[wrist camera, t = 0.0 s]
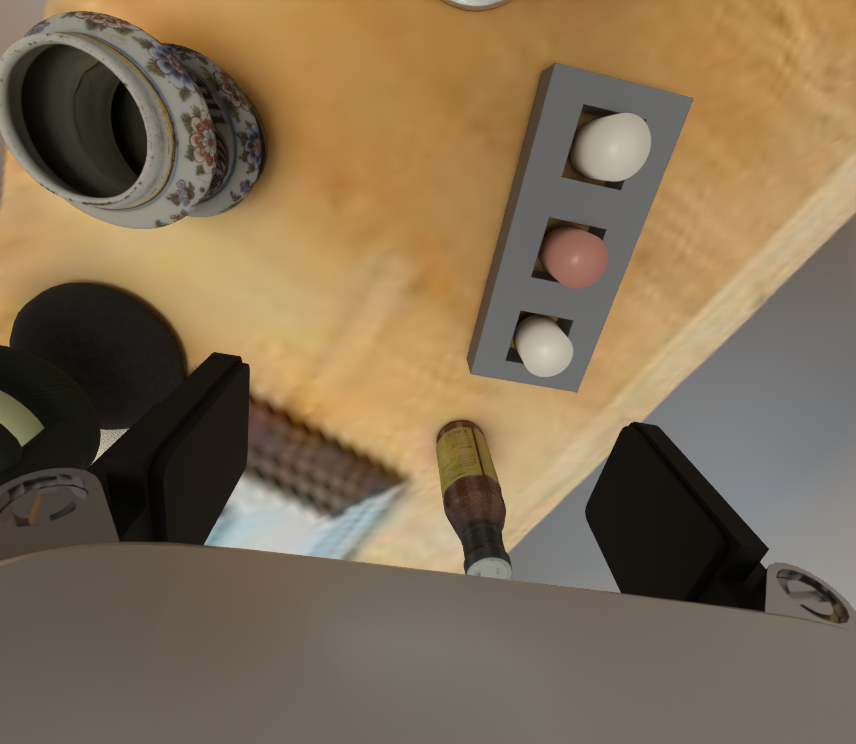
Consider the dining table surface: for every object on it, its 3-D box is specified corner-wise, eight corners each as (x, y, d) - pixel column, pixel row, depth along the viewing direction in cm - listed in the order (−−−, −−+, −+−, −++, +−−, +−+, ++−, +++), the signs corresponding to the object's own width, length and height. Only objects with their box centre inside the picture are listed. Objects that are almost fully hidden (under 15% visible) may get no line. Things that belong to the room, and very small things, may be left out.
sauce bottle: (428, 450, 56) (433, 588, 38) (448, 411, 53) (464, 539, 36) (474, 466, 57) (501, 606, 39) (496, 428, 55) (535, 560, 37)
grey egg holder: (542, 71, 38) (555, 62, 35) (668, 103, 40) (693, 98, 36) (466, 358, 50) (470, 374, 47) (566, 375, 52) (577, 392, 48)
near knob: (581, 111, 38) (602, 106, 33) (633, 124, 38) (661, 120, 34) (562, 172, 40) (580, 174, 35) (612, 183, 40) (636, 187, 36)
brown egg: (548, 220, 41) (563, 227, 37) (596, 230, 42) (616, 239, 38) (532, 270, 43) (545, 283, 39) (578, 280, 44) (596, 293, 40)
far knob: (520, 310, 45) (531, 327, 41) (564, 319, 46) (580, 336, 41) (507, 352, 47) (516, 372, 43) (550, 360, 48) (563, 380, 43)
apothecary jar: (136, 43, 37) (-81, -45, 21) (282, 76, 38) (185, 18, 22) (148, 195, 42) (-18, 220, 26) (276, 220, 43) (194, 258, 27)
